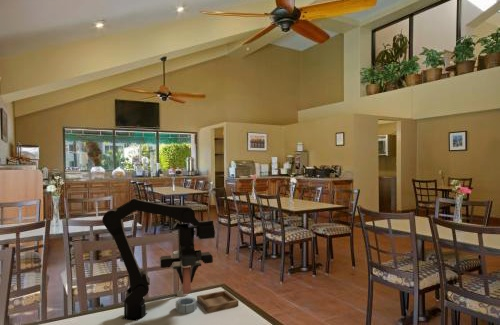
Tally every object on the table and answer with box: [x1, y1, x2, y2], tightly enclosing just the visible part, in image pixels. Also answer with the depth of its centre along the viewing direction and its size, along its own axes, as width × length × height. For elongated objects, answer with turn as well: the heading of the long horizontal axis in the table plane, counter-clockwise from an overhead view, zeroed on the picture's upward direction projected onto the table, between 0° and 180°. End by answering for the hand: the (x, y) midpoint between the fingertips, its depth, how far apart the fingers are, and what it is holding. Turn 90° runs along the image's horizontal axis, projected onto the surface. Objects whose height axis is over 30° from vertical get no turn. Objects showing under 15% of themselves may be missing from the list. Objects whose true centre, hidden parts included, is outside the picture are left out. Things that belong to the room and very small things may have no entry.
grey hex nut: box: [175, 296, 198, 315], centre depth 124 cm, size 7×7×3 cm
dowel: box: [182, 266, 192, 295], centre depth 124 cm, size 3×3×9 cm
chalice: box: [173, 250, 190, 298], centre depth 138 cm, size 7×7×18 cm
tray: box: [196, 290, 239, 314], centre depth 129 cm, size 12×12×2 cm
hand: (186, 282), depth 124 cm, fingers closed on dowel, 3 cm apart
